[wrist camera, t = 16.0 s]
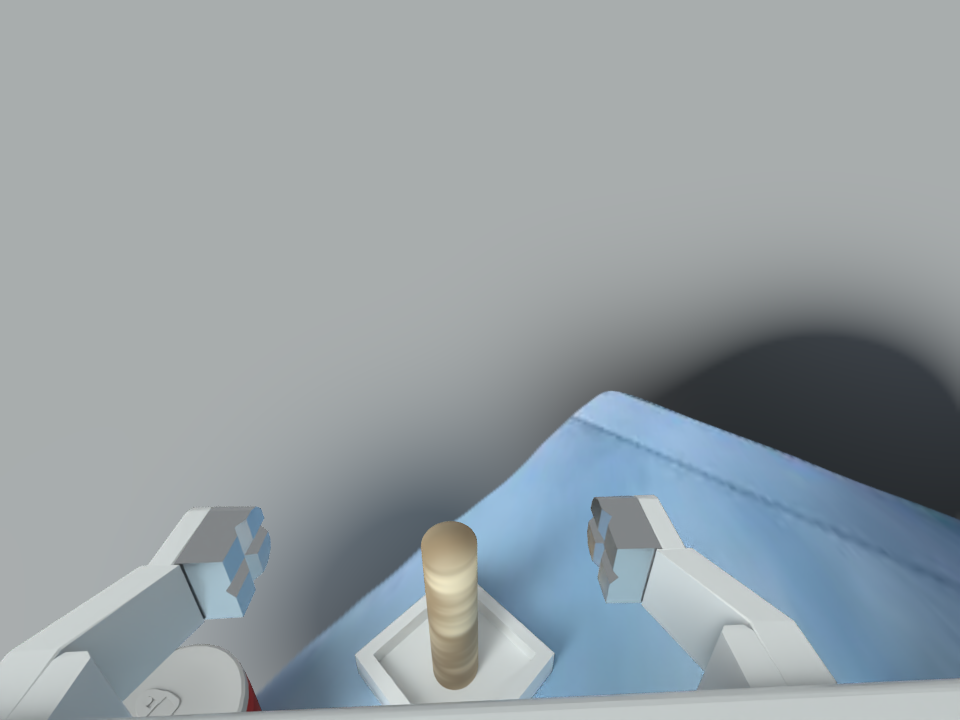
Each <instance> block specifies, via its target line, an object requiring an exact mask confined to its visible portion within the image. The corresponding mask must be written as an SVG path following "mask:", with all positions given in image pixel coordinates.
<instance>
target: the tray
mask: <svg viewBox="0 0 960 720" xmlns="http://www.w3.org/2000/svg"><path fill="white" fill-rule="evenodd" d="M554 654H555V653H554V652H553V651H552V650H550V649H549V648H548V647H547V646H546V645H545V644H544V643H543V642H542V641H540V640H539V639H538V638H537V637H536V636H535V635H534V634H533V633H532V632H530V631H529V630H528V629H527V628H526V627H525V626H524V625H523V624H522V623H520V622H519V621H518V620H517V619H516V618H515V617H514V616H513V615H512V614H510V613H509V612H508V611H507V610H506V609H505V608H504V607H503V606H502V605H500V604H499V603H498V602H497V601H496V600H495V599H494V598H493V597H492V596H490V595H489V594H488V593H487V592H486V591H485V590H484V589H483V588H482V587H480V586H479V585H478V671H477V674H476V676H475V678H474V680H473V681H472V682H471V683H470V684H469V685H468V686H466V687H465V688H463V689H459V690H449V689H446V688H444V687H443V686H441V685H440V684H439V683H438V681H437V680H436V678H435V676H434V672H433V664H432V653H431V643H430V633H429V623H428V613H427V602H426V594H425V595H424V596H423V597H422V598H421V599H420V600H418V601H417V602H416V603H415V604H414V605H413V606H411V607H410V608H409V609H408V610H407V611H405V612H404V613H403V614H402V615H401V616H400V617H398V618H397V619H396V620H395V621H394V622H393V623H391V624H390V625H389V626H388V627H387V628H385V629H384V630H383V631H382V632H381V633H380V634H378V635H377V636H376V637H375V638H374V639H372V640H371V641H370V642H369V643H368V644H367V645H365V646H364V647H363V648H362V649H361V650H360V651H358V652H357V653H356V654H355V658H356V663H357V668H358V673H359V674H360V676H361V677H362V678H363V680H364V681H365V683H366V684H367V686H368V687H369V688H370V690H371V691H372V693H373V694H374V695H375V697H376V698H377V700H378V701H379V702H380V704H381V705H401V704H422V703H442V702H464V701H485V700H506V699H527V698H532V697H533V696H534V694H535V693H536V692H537V690H538V689H539V688H540V686H541V685H542V684H543V683H544V681H545V680H546V679H547V677H548V676H549V675H550V673H551V672H552V668H553V661H554Z"/></svg>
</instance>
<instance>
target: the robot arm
mask: <svg viewBox="0 0 960 720" xmlns="http://www.w3.org/2000/svg"><path fill="white" fill-rule="evenodd" d="M591 511H592V514H593V516H594V517H593V518H592V519H591V520H590V521H589V523H588V531H587V535H588V546H589V551H590V555H591V558H592V561H593V562H594V563H595V564H596V565H597V566H598V567H599V573H598V580H599V583H600V587H601V590H602V593H603V596H604V599H605V602H606V603H642V606H643V607H644V608H645V609H646V610H647V611H648V612H649V613H650V614H651V615H652V616H653V618H654V619H655V620H656V621H657V622H658V623H659V624H660V625H661V626H662V627H663V628H664V629H665V630H666V631H667V632H668V633H669V635H670V636H671V637H672V638H673V639H674V640H675V641H676V642H677V643H678V644H679V645H680V646H681V647H682V648H683V649H684V650H685V652H686V653H687V654H688V655H689V656H690V657H691V658H692V659H693V660H694V661H695V662H696V663H697V664H698V665H699V666H700V667H701V669H702V670H703V671H704V674H703V676H702V679H701V681H700V683H699V686H698V688H697V690H696V691H675V692H654V693H632V694H611V695H590V696H569V697H548V698H527V699H506V700H485V701H464V702H442V703H422V704H401V705H380V706H359V707H339V708H318V709H297V710H276V711H254V712H233V713H212V714H190V715H169V716H148V717H132V715H131V714H130V712H129V711H128V709H127V708H126V706H125V705H124V704H123V701H124V700H125V699H126V698H127V697H128V696H129V695H130V694H131V693H132V692H133V691H134V690H135V689H136V688H137V687H138V686H139V685H140V684H141V683H142V682H143V681H144V680H145V679H146V678H147V677H148V676H149V675H150V674H151V673H152V672H153V671H155V670H156V669H157V668H158V667H159V666H160V665H161V664H162V663H163V662H164V661H165V660H166V659H167V658H168V657H169V656H170V655H171V654H172V653H173V652H174V651H175V650H176V649H177V648H178V647H179V646H180V645H181V644H182V643H183V642H184V641H185V640H186V639H187V638H188V637H189V636H190V635H191V634H192V633H193V632H194V631H196V629H198V628H199V627H200V626H201V625H202V624H203V623H204V620H205V619H220V618H233V617H244V614H245V612H246V610H247V608H248V605H249V603H250V601H251V599H252V597H253V594H254V592H255V586H254V583H253V581H254V580H255V579H256V578H257V577H258V576H260V575H261V574H262V573H263V572H264V570H265V567H266V565H267V563H268V559H269V554H270V548H271V547H270V536H269V533H268V531H267V530H266V529H264V528H263V527H262V526H261V523H262V521H263V519H264V516H263V514H262V510H261V508H259V507H193V508H192V509H190V510H188V511H187V512H186V513H185V515H184V516H183V517H182V519H181V520H180V522H179V523H178V524H177V526H176V527H175V528H174V530H173V531H172V533H171V534H170V535H169V537H168V538H167V539H166V541H165V542H164V544H163V545H162V546H161V548H160V549H159V551H158V552H157V553H156V554H155V556H154V557H153V559H152V560H151V561H150V563H149V564H148V566H140V567H138V568H137V569H135V570H134V571H132V572H131V573H129V574H128V575H126V576H124V577H123V578H121V579H120V580H119V581H117V582H115V583H114V584H112V585H111V586H109V587H108V588H106V589H105V590H103V591H102V592H100V593H98V594H97V595H95V596H94V597H92V598H91V599H89V600H88V601H86V602H85V603H83V604H82V605H80V606H79V607H77V608H76V609H74V610H73V611H71V612H69V613H68V614H66V615H65V616H63V617H62V618H60V619H59V620H57V621H56V622H54V623H53V624H51V625H50V626H48V627H46V628H45V629H43V630H42V631H40V632H39V633H37V634H36V635H34V636H33V637H31V638H30V639H28V640H27V641H25V642H23V643H22V644H20V645H19V646H17V647H16V648H14V649H13V650H11V651H10V652H9V653H8V654H7V655H6V656H5V657H4V658H3V659H2V661H1V662H0V720H960V678H949V679H928V680H907V681H886V682H865V683H844V684H838V683H837V682H836V681H835V679H834V678H833V676H832V675H831V673H830V672H829V670H828V669H827V668H826V666H825V665H824V663H823V662H822V660H821V659H820V657H819V656H818V655H817V653H816V652H815V650H814V649H813V647H812V646H811V644H810V643H809V642H808V640H807V639H806V637H805V636H804V634H803V633H802V631H801V630H800V629H799V627H798V626H797V624H796V623H795V621H793V620H792V619H791V618H789V617H788V616H786V615H785V614H784V613H782V612H781V611H779V610H778V609H777V608H775V607H774V606H772V605H771V604H770V603H768V602H767V601H765V600H764V599H763V598H761V597H760V596H758V595H757V594H756V593H754V592H753V591H751V590H750V589H749V588H747V587H746V586H744V585H743V584H742V583H740V582H739V581H737V580H736V579H735V578H733V577H732V576H730V575H729V574H728V573H726V572H725V571H723V570H722V569H721V568H719V567H718V566H716V565H715V564H714V563H712V562H711V561H709V560H708V559H707V558H705V557H704V556H702V555H701V554H700V553H698V552H697V551H695V550H694V549H693V548H686V547H685V546H684V544H683V542H682V540H681V538H680V537H679V535H678V533H677V531H676V530H675V528H674V526H673V524H672V522H671V521H670V519H669V517H668V515H667V514H666V512H665V510H664V508H663V506H662V505H661V503H660V501H659V499H658V498H657V497H656V496H655V495H637V496H612V497H594V499H593V501H592V505H591Z"/></svg>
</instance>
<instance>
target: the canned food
mask: <svg viewBox="0 0 960 720" xmlns="http://www.w3.org/2000/svg"><path fill="white" fill-rule="evenodd" d="M123 704H124V705H125V706H126V708H127V709H128V711H129V712H130V714H131V715H132V717H148V716H169V715H190V714H212V713H233V712H254V711H262V710H261V708H260V705H259V703H258V700H257V698H256V695H255V693H254V691H253V688H252V686H251V683H250V681H249V679H248V677H247V675H246V672H245V671H244V669H243V667H242V665H241V664H240V662H239V661H238V660H237V658H236V657H235V656H234V655H233V654H231V653H230V652H229V651H227V650H225V649H223V648H221V647H219V646H215V645H210V644H195V645H189V646H184V647H180V648H177V649H176V650H175V651H174V652H173V653H172V654H171V655H170V656H169V657H168V658H167V659H166V660H165V661H164V662H163V663H162V664H161V665H160V666H159V667H158V668H157V669H156V670H155V671H153V672H152V673H151V674H150V675H149V676H148V677H147V678H146V679H145V680H144V681H143V682H142V683H141V684H140V685H139V686H138V687H137V688H136V689H135V690H134V691H133V692H132V693H131V694H130V695H129V696H128V697H127V698H126V699H125V700H124V701H123Z"/></svg>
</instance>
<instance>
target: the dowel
mask: <svg viewBox="0 0 960 720" xmlns="http://www.w3.org/2000/svg"><path fill="white" fill-rule="evenodd" d="M421 551H422V561H423V572H424V582H425V592H426V602H427V613H428V623H429V633H430V643H431V653H432V664H433V672H434V676H435V678H436V680H437V681H438V683H439V684H440V685H441V686H443V687H444V688H446V689H449V690H459V689H463V688H465V687H466V686H468V685H469V684H470V683H471V682H472V681H473V680H474V678H475V676H476V674H477V671H478V581H477V539H476V536H475V534H474V532H473V531H472V529H471V528H469V527H468V526H467V525H465V524H463V523H460V522H455V521H447V522H442V523H439V524H436V525H435V526H433V527H432V528H430V529H429V530H428V531H427V532H426V533H425V535H424V537H423V539H422V543H421Z"/></svg>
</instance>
